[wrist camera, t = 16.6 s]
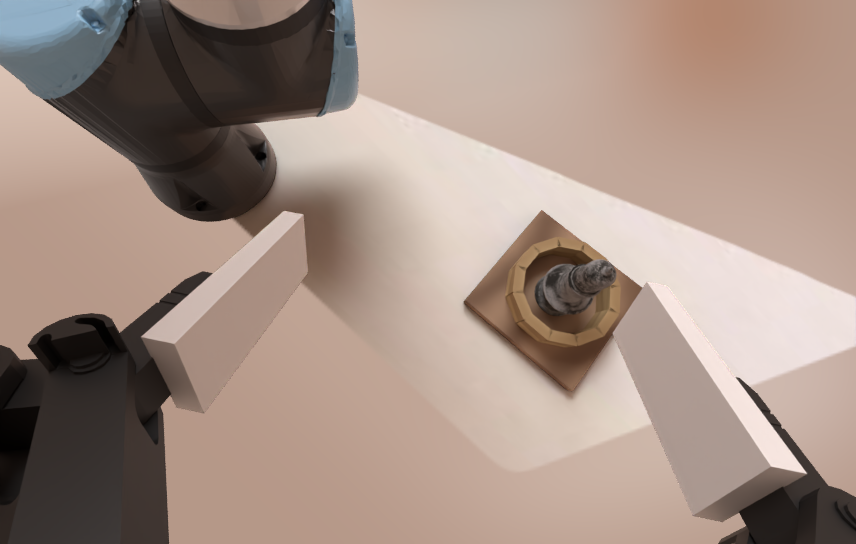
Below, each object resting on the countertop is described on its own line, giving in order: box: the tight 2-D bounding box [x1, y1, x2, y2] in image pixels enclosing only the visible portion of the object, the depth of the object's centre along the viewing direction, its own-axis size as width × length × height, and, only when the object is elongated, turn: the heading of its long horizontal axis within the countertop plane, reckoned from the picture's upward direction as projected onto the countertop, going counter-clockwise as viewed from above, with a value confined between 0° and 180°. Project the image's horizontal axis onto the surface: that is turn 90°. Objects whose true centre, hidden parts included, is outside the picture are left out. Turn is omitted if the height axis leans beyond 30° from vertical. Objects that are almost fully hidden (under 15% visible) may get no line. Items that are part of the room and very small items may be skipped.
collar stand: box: [464, 210, 642, 391], centre depth 41 cm, size 16×16×4 cm
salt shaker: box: [534, 259, 617, 316], centre depth 36 cm, size 6×6×12 cm
